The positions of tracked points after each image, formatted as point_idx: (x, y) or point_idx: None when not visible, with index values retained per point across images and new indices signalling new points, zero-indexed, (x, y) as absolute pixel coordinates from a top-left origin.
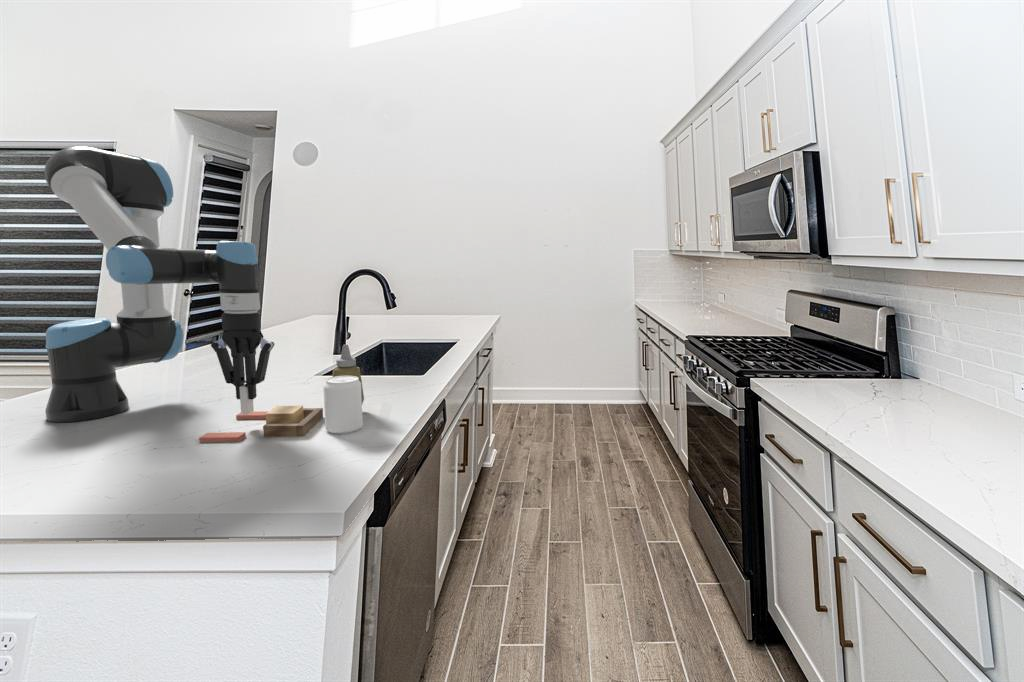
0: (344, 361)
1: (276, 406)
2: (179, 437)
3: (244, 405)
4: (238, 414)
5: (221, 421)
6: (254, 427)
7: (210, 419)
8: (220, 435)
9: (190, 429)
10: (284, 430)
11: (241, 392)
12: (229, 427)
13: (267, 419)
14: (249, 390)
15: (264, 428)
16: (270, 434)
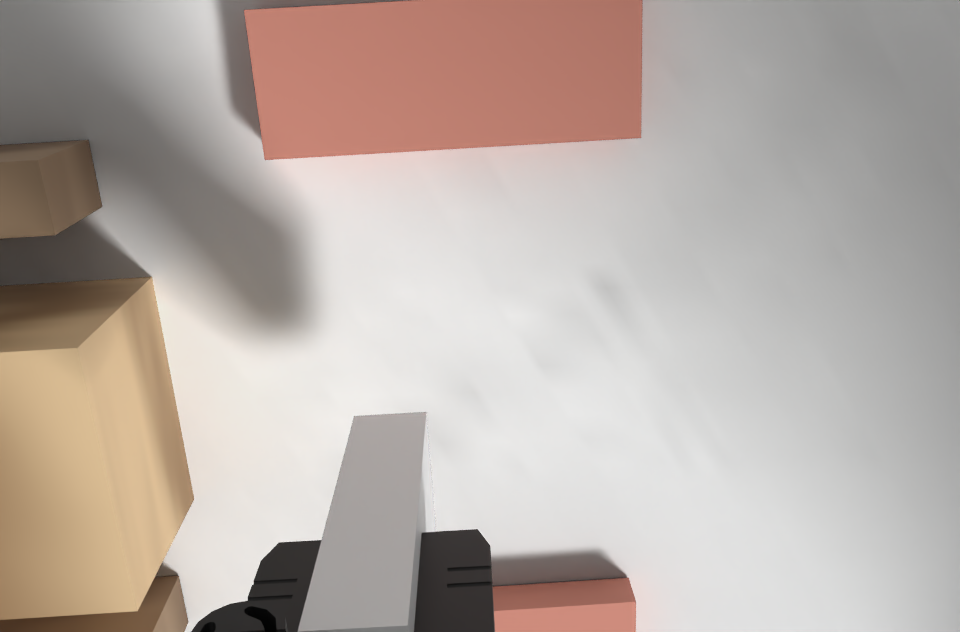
0: None
1: (131, 594)
2: (891, 120)
3: (374, 464)
4: (627, 625)
5: (730, 527)
6: (345, 392)
7: (852, 569)
8: (459, 56)
9: (897, 328)
10: None
11: (387, 567)
12: (574, 386)
13: (85, 322)
14: (294, 626)
15: (37, 158)
16: (10, 149)
